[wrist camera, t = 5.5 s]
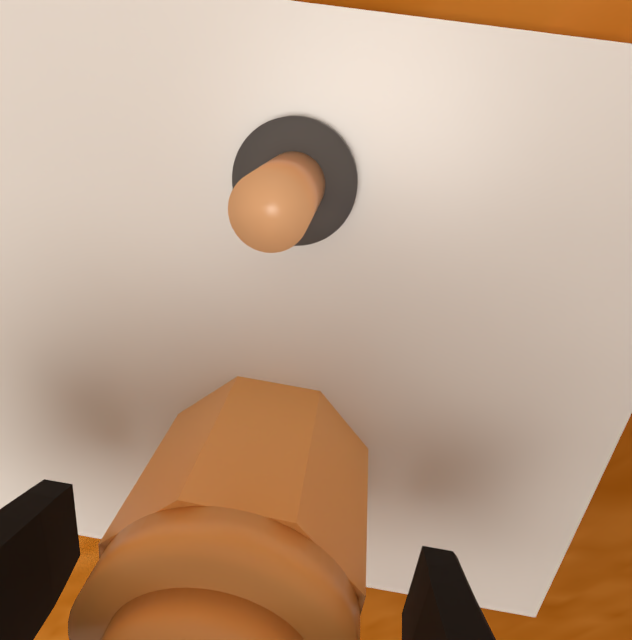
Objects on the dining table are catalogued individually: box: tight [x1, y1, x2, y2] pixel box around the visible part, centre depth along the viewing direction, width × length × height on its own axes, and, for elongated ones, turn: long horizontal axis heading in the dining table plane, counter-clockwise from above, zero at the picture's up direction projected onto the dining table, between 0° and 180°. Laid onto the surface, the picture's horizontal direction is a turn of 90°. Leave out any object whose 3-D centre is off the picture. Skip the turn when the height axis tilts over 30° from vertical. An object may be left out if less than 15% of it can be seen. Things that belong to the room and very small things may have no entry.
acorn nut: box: [68, 376, 368, 640], centre depth 10 cm, size 5×5×6 cm
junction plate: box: [0, 0, 632, 617], centre depth 11 cm, size 16×14×4 cm
